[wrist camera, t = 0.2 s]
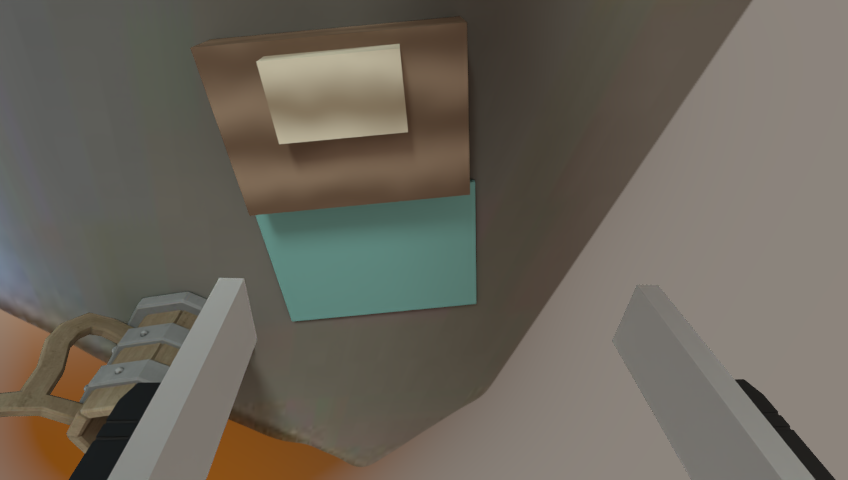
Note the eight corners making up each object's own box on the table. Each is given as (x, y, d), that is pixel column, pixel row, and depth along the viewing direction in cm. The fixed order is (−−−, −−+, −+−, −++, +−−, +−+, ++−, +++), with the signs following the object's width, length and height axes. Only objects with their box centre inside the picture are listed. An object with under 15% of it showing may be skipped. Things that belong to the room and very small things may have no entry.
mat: (252, 200, 42) (251, 203, 41) (474, 179, 42) (475, 181, 41) (293, 318, 51) (292, 321, 50) (475, 301, 51) (476, 303, 50)
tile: (263, 56, 31) (256, 61, 29) (399, 43, 31) (399, 48, 29) (284, 135, 34) (279, 144, 33) (407, 123, 34) (408, 132, 33)
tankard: (263, 322, 51) (219, 440, 38) (221, 380, 56) (170, 500, 43) (80, 243, 43) (-48, 357, 31) (51, 318, 49) (-68, 442, 36)
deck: (210, 39, 34) (190, 48, 30) (459, 16, 34) (466, 22, 30) (261, 195, 41) (249, 215, 38) (464, 176, 42) (470, 194, 38)
